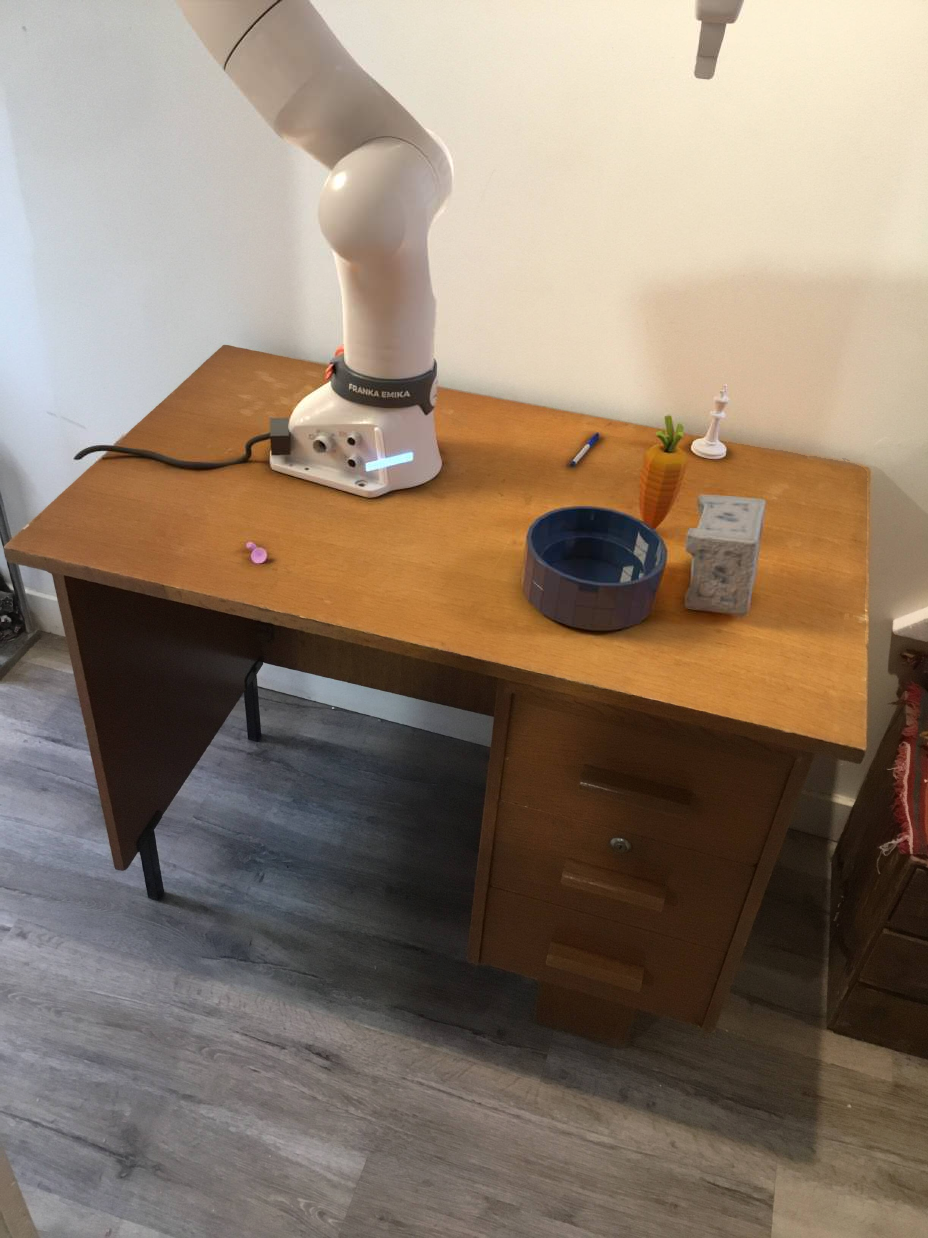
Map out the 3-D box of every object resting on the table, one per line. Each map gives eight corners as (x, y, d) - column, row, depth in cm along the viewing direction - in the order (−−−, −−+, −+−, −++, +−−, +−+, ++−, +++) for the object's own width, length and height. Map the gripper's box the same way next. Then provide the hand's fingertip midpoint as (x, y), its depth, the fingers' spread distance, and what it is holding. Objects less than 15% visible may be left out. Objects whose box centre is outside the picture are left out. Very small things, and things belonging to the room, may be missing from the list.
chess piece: (730, 449, 130) (748, 383, 124) (718, 462, 126) (736, 395, 120) (698, 438, 132) (714, 373, 125) (685, 451, 128) (701, 385, 122)
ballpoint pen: (593, 435, 131) (594, 429, 130) (599, 437, 130) (600, 431, 130) (569, 467, 123) (570, 460, 122) (575, 468, 123) (576, 462, 122)
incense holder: (682, 560, 107) (702, 483, 101) (753, 577, 105) (778, 500, 99) (667, 607, 100) (688, 527, 93) (744, 627, 98) (770, 547, 91)
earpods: (263, 569, 103) (274, 558, 103) (258, 566, 101) (269, 555, 101) (246, 551, 104) (257, 540, 104) (241, 548, 102) (252, 536, 102)
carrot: (669, 546, 109) (697, 433, 100) (627, 539, 110) (651, 426, 101) (670, 524, 113) (697, 413, 104) (630, 518, 114) (653, 407, 104)
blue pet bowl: (527, 633, 95) (534, 583, 91) (514, 551, 106) (520, 503, 102) (668, 636, 96) (681, 587, 92) (640, 554, 108) (651, 507, 104)
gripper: (704, -117, 86) (674, 53, 95) (701, -122, 71) (665, 82, 79) (772, -112, 86) (735, 59, 94) (784, -115, 70) (739, 90, 79)
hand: (703, 70), depth 87 cm, fingers open, 8 cm apart
